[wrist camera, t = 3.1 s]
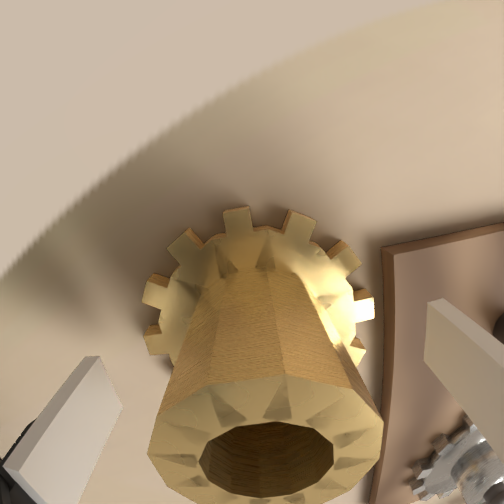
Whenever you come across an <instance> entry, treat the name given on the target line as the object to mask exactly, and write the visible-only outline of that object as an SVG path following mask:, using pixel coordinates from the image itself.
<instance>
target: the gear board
mask: <svg viewBox="0 0 504 504" xmlns="http://www.w3.org/2000/svg"><path fill="white" fill-rule="evenodd" d="M381 256H382V272H383V296H384V364H383V387H382V403H381V415H380V416H381V418H382V420H383V422H384V425H383V434H382V443H381V450H380V457H379V460H378V461H377V462H376V463H375V468H374V475H373V481H372V488H371V493H370V499H369V504H410V503H412V502H415V501H418V500H420V499H419V497H418V495H417V494H416V495H413V493H412V491H411V489H410V486H409V483H408V480H410V479H412V478H414V477H415V475H414V473H413V471H412V467H413V466H414V464H415V462H416V461H417V460H419V459H423V458H427V457H429V456H430V454H431V453H432V452H433V451H434V450H435V449H434V447H433V446H432V444H431V443H432V442H433V441H434V440H435V439H436V438H437V437H439V436H440V435H441V434H442V433H444V434H446V435H450V434H451V433H453V432H454V431H455V430H456V429H458V428H459V427H460V426H461V425H463V416H464V415H466V413H465V412H464V410H463V409H462V408H461V406H460V405H459V404H458V403H457V401H456V400H455V399H454V397H453V396H452V395H451V394H450V392H449V391H448V390H447V389H446V387H445V386H444V385H443V384H442V382H441V381H440V380H439V379H438V377H437V376H436V375H435V374H434V373H433V371H432V370H431V369H430V368H429V366H428V365H427V364H426V363H425V362H424V350H425V339H426V324H427V303H428V302H431V301H435V300H438V299H442V298H444V299H445V300H446V301H448V302H449V303H450V304H452V305H453V306H454V307H456V308H457V309H458V310H460V311H461V312H462V313H464V314H465V315H466V316H468V317H469V318H470V319H472V320H473V321H474V322H476V323H477V324H478V325H479V326H481V327H482V328H483V329H485V330H486V331H487V332H488V333H490V334H491V335H492V336H493V337H495V338H496V339H497V340H498V341H500V342H501V343H502V344H503V345H504V222H503V223H498V224H494V225H489V226H484V227H480V228H475V229H470V230H465V231H460V232H456V233H451V234H446V235H441V236H436V237H431V238H426V239H421V240H416V241H411V242H406V243H401V244H396V245H391V246H386V247H381ZM483 498H484V499H485V501H486V503H487V504H504V483H503V481H501V482H498V483H497V484H495V485H494V486H492V487H491V488H490V489H489V490H488V491H487V492H486V493H485V494H484V495H483Z"/></svg>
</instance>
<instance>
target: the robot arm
mask: <svg viewBox="0 0 504 504" xmlns="http://www.w3.org/2000/svg"><path fill="white" fill-rule="evenodd" d="M424 362H425V363H426V364H427V365H428V366H429V368H430V369H431V370H432V371H433V373H434V374H435V375H436V376H437V377H438V379H439V380H440V381H441V382H442V384H443V385H444V386H445V387H446V389H447V390H448V391H449V392H450V394H451V395H452V396H453V397H454V399H455V400H456V401H457V403H458V404H459V405H460V406H461V408H462V409H463V410H464V412H465V413H466V414H467V415H468V417H469V418H470V419H471V421H472V422H473V423H474V425H475V426H476V427H477V429H478V430H479V431H480V433H481V434H482V435H483V437H484V438H485V439H486V441H487V442H488V444H489V445H490V446H491V448H492V449H493V450H494V452H495V453H496V455H497V456H498V457H499V459H500V460H501V462H502V463H503V464H504V345H503V344H502V343H501V342H500V341H498V340H497V339H496V338H495V337H493V336H492V335H491V334H490V333H488V332H487V331H486V330H485V329H483V328H482V327H481V326H479V325H478V324H477V323H476V322H474V321H473V320H472V319H470V318H469V317H468V316H466V315H465V314H464V313H462V312H461V311H460V310H458V309H457V308H456V307H454V306H453V305H452V304H450V303H449V302H448V301H446V300H445V299H444V298H442V299H438V300H435V301H431V302H428V303H427V324H426V339H425V350H424ZM122 409H123V406H122V404H121V402H120V400H119V398H118V395H117V393H116V391H115V389H114V387H113V385H112V383H111V381H110V378H109V376H108V374H107V372H106V369H105V367H104V365H103V362H102V360H101V358H100V356H89V357H85V358H84V359H83V360H82V361H81V362H80V364H79V365H78V366H77V367H76V369H75V370H74V371H73V372H72V374H71V375H70V376H69V377H68V379H67V380H66V381H65V382H64V384H63V385H62V386H61V387H60V389H59V390H58V391H57V393H56V394H55V395H54V396H53V398H52V399H51V400H50V402H49V403H48V404H47V406H46V407H45V408H44V410H43V411H42V412H41V413H40V415H39V416H38V417H37V418H36V419H35V420H34V421H33V422H31V423H30V424H29V425H27V427H26V428H25V429H24V431H23V432H22V433H21V436H19V437H18V439H17V440H16V444H15V443H14V444H13V446H12V447H11V448H10V450H9V451H8V453H7V454H6V455H5V457H4V458H3V460H2V461H1V459H0V504H78V503H79V500H80V498H81V496H82V494H83V491H84V489H85V487H86V485H87V482H88V480H89V478H90V476H91V474H92V472H93V469H94V467H95V465H96V463H97V461H98V459H99V456H100V454H101V452H102V450H103V448H104V446H105V444H106V442H107V440H108V438H109V435H110V433H111V431H112V429H113V427H114V425H115V423H116V421H117V419H118V417H119V415H120V413H121V411H122Z"/></svg>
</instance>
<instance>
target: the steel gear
mask: <svg viewBox="0 0 504 504" xmlns="http://www.w3.org/2000/svg"><path fill="white" fill-rule="evenodd" d="M431 444H432V446H433V447H434V449H435V450H434V451H433V452H432V453H431V454H430V456H429V457H427V458H423V459H419V460H417V461H416V462H415V464H414V466H413V467H412V471H413V473H414V475H415V477H414V478H412V479H410V480H408V483H409V486H410V489H411V491H412V493H413V495H416V494H417V495H418V497H419V499H420V500H422V501H427V500H428V499H430V498H431V497H432V496H434V495H435V494H437V495H438V497H439V499H441V498H444V497H446V496H449V495H450V494H451V492H452V491H453V490H454V489H456V488H458V489H459V491H460V493H461V494H462V496H463V498H464V500H465V502H466V503H467V504H483V503H484V502H486V501H485V499H484V498H483V495H484V494H485V493H486V492H487V491H488V490H489V489H490V488H491V487H492V486H494V485H495V484H497V483H498V482H501V481H503V483H504V464H503V463H502V462H501V460H500V459H499V457H498V456H497V455H496V453H495V452H494V450H493V449H492V448H491V446H490V445H489V444H488V442H487V441H486V439H485V438H484V437H483V435H482V434H481V433H480V431H479V430H478V429H477V427H476V426H475V425H474V423H473V422H472V421H471V419H470V418H469V417H468V415H467V414H466V415H464V416H463V425H461V426H460V427H459V428H458V429H456V430H455V431H454V432H453V433H451V434H450V435H446V434H444V433H442V434H441V435H440V436H439V437H437V438H436V439H435V440H434V441H433V442H432V443H431Z"/></svg>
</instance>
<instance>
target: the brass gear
mask: <svg viewBox="0 0 504 504" xmlns="http://www.w3.org/2000/svg"><path fill="white" fill-rule="evenodd" d="M222 214H223V219H224V224H225V229H226V233H220V234H215V235H214V236H212V237H211V238H210V239H209V240H208V241H207V242H205V243H203V242H202V241H201V240H200V239H199V238H198V236H197V235H196V234H195V233H194V232H193V231H192V230H191V229H190V227H189V228H188V229H187V230H186V231H185V232H184V233H183V234H182V235H180V236H179V237H178V238H177V239H176V240H175V241H174V242H173V243H172V244H171V245H170V246H168V247H167V248H166V249H167V250H168V251H169V253H170V254H171V255H172V256H173V257H174V258H175V259H176V260H177V261H178V263H179V264H180V265H179V266H178V267H177V268H176V269H175V271H174V272H173V273H172V275H171V277H170V279H169V278H166V277H164V276H161V275H158V274H155V273H153V275H152V276H151V277H150V278H149V279H148V280H147V282H146V286H145V290H144V294H143V298H142V303H145V304H147V305H150V306H153V307H155V308H158V309H161V313H160V317H159V321H158V322H159V324H156V325H150V326H149V328H148V329H147V331H146V332H145V334H144V336H143V337H144V340H145V343H146V345H147V348H148V351H149V354H150V355H159V354H169V356H170V359H171V362H172V364H173V365H174V369H173V371H172V374H171V377H170V380H169V383H168V386H167V388H166V391H165V394H164V397H163V400H162V403H161V406H160V408H159V411H158V414H157V417H156V421H155V425H154V429H153V432H152V436H151V440H150V444H149V448H148V452H147V455H148V456H149V458H150V460H151V461H152V463H153V465H154V466H155V468H156V469H157V471H158V472H159V474H160V476H161V477H162V479H163V480H164V482H165V483H166V485H167V486H168V487H169V488H171V489H173V490H174V491H176V492H178V493H179V494H181V495H183V496H185V497H186V498H188V499H190V500H192V501H194V502H196V503H197V504H322V503H325V502H327V501H329V500H331V499H333V498H335V497H337V496H340V495H342V494H344V493H346V492H348V491H350V490H351V489H352V488H353V487H354V486H355V485H356V484H357V483H358V482H359V481H360V480H361V479H362V477H363V476H364V475H365V474H366V473H367V472H368V471H369V470H370V469H371V468H372V467H373V465H374V464H375V463H376V462H377V461H378V460H379V457H380V450H381V443H382V434H383V425H384V422H383V420H382V418H381V416H380V414H379V412H378V410H377V408H376V406H375V404H374V402H373V400H372V398H371V396H370V394H369V392H368V390H367V388H366V386H365V384H364V382H363V380H362V378H361V376H360V374H359V372H358V370H357V368H356V367H357V366H358V364H359V362H360V360H361V359H362V357H363V355H364V353H365V351H366V349H365V348H364V346H363V344H362V343H361V341H360V340H359V339H357V338H354V336H355V323H356V322H360V321H365V320H369V319H373V318H374V297H373V296H372V295H371V294H370V293H369V292H368V291H367V290H366V289H361V290H356V291H353V288H352V287H351V286H350V284H349V283H348V282H347V281H346V279H345V278H346V277H347V276H348V275H350V274H351V273H352V272H353V271H354V270H356V269H357V268H358V267H359V266H360V265H362V263H361V262H360V261H359V259H358V258H357V256H356V255H355V254H354V252H353V251H352V250H351V248H350V247H349V246H348V245H347V244H346V243H344V242H343V241H342V240H340V241H339V242H338V243H337V244H335V245H334V246H333V247H332V248H331V249H329V250H328V251H327V252H326V253H325V252H324V251H323V249H322V248H321V247H320V246H319V245H318V244H317V243H315V242H313V241H310V237H311V235H312V232H313V230H314V227H315V225H316V222H317V221H315V220H314V219H312V218H311V217H308V216H305V215H303V214H300V213H298V212H295V211H292V210H290V209H289V210H288V213H287V215H286V218H285V221H284V223H283V226H282V229H281V230H280V229H277V228H274V227H272V226H269V225H265V226H259V227H253V225H252V220H251V214H250V209H249V206H245V207H239V208H234V209H228V210H224V212H223V213H222Z"/></svg>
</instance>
